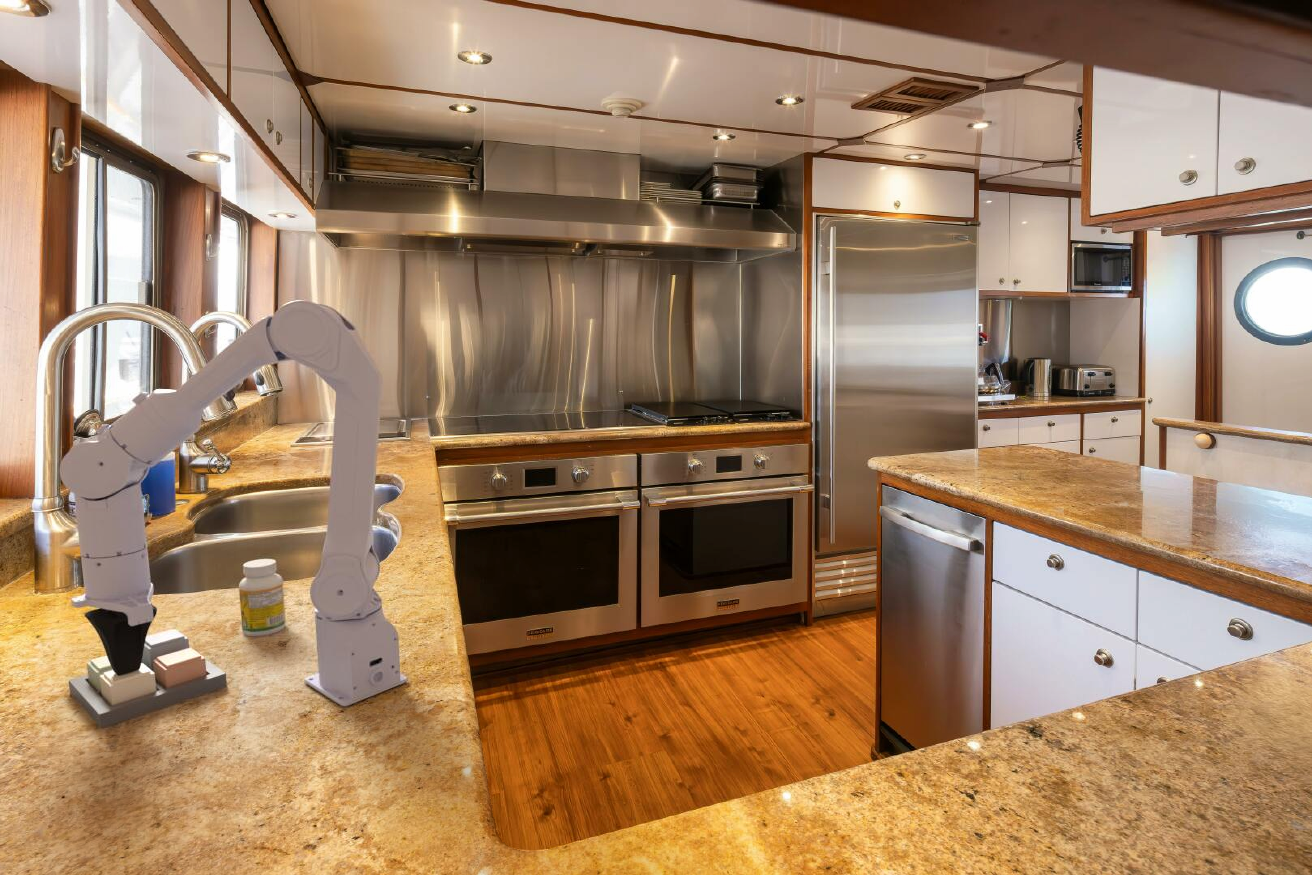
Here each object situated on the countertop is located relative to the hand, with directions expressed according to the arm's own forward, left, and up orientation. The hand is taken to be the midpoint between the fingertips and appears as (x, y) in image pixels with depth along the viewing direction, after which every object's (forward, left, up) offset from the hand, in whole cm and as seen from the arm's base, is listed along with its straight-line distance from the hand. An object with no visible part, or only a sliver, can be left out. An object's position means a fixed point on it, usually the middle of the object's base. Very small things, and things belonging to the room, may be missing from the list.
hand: (127, 670), depth 79 cm
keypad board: (+3, -2, -4) cm, 5 cm away
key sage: (+5, 0, -4) cm, 6 cm away
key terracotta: (0, -5, -4) cm, 6 cm away
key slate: (+5, -5, -3) cm, 8 cm away
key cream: (0, 0, -4) cm, 4 cm away
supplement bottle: (+11, -18, -4) cm, 22 cm away
